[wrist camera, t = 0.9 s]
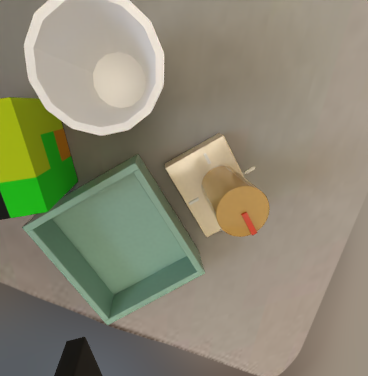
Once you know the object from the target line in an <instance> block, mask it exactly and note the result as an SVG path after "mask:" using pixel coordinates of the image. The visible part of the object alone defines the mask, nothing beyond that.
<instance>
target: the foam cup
mask: <svg viewBox="0 0 368 376" xmlns="http://www.w3.org/2000/svg"><path fill="white" fill-rule="evenodd" d="M24 52H25V59H26V67H27V74H28V80H29V82H30V83H31V85H32V87H33V89H34V90H35V92H36V94H37V95H38V97H39V99H40V100H41V102H42V104H43V105H44V107H45V109H46V110H48V111H49V112H50V113H52V114H53V115H54V116H56V117H57V118H58V119H60V120H61V121H62V122H64V123H65V124H66V125H68V126H69V127H70V128H72V129H75V130H79V131H83V132H88V133H92V134H96V135H100V136H102V135H107V134H112V133H117V132H122V131H127V130H130V129H131V128H132V127H133V126H135V125H136V124H137V123H138V122H140V121H141V120H142V119H144V118H145V117H146V116H147V115H149V114H150V113H151V112H152V110H153V107H154V105H155V103H156V101H157V99H158V97H159V95H160V93H161V90H162V88H163V86H164V52H163V49H162V47H161V44H160V42H159V40H158V37H157V35H156V32H155V30H154V27H153V25H152V23H151V21H150V20H149V19H148V18H147V17H146V16H145V15H144V14H143V13H142V12H141V11H140V10H139V9H138V8H137V7H136V6H135V5H134V4H133V3H132V2H131V1H130V0H48V1H47V2H46V3H45V4H44V5H43V6H41V7H40V8H39V9H38V10H37V11H36V12H35V13H34V15H33V18H32V21H31V24H30V27H29V30H28V33H27V36H26V39H25V42H24Z"/></svg>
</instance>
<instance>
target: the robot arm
mask: <svg viewBox="0 0 368 376" xmlns="http://www.w3.org/2000/svg"><path fill="white" fill-rule="evenodd" d="M54 376H102V374H101V372H100V369H99V367H98V365H97V362H96V360H95V358H94V356H93V354H92V351H91V349H90V347H89V345H88V342H87V340H86V338H85V337H82V338H78V339H75V340H70V341H67V342H66V345H65V348H64V351H63V353H62V356H61V359H60V361H59V364H58V367H57V370H56V373H55V375H54Z"/></svg>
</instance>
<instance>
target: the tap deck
mask: <svg viewBox="0 0 368 376" xmlns="http://www.w3.org/2000/svg"><path fill="white" fill-rule="evenodd" d="M217 166H229V167H232V168H233V169H235V170H236V171H237V172H239V173H240V174H241V175H242V176H243V174H242V172H241V170H240V168H239V166H238V164H237V161H236V159H235V157H234V155H233V153H232V151H231V149H230V147H229V145H228V143H227V141H226V139H225V137H224V135H222V134H220V133H218V134H216V135H215V136H213V137H211V138H209V139H208V140H206V141H204V142H202V143H200V144H199V145H197V146H195V147H193V148H192V149H190V150H188V151H186V152H185V153H183V154H181V155H179V156H178V157H176V158H174V159H172V160H171V161H169V162H167V163H165V169H166V171H167V172H168V174H169V176H170V177H171V179H172V181H173V182H174V184H175V186H176V187H177V189H178V191H179V192H180V194H181V196H182V197H183V199H184V201H185V202H186V204H187V206H188V208H189V209H190V211H191V213H192V214H193V216H194V218H195V219H196V221H197V223H198V224H199V226H200V228H201V229H202V231H203V233H204V234H205V236H206V238H207V237H209V236H211V235H212V234H214V233H216V232H218V231H220V230H222V229H221V227H220V226H219V224H218V222H217V220H216V219H215V217H214V215H213V213H212V211H211V209H210V207H209V205H208V203H207V201H206V200H205V198H204V196H203V194H202V189H201V185H202V180H203V178H204V176H205V175H206V173H207V172H208V171H210V170H211V169H213V168H215V167H217ZM254 169H256V168H255V166H254V167H252V168H250V169H248V170H246V171H245V174H247V173H249V172H251V171H253V170H254ZM243 177H244V176H243Z"/></svg>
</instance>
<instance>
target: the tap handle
mask: <svg viewBox="0 0 368 376" xmlns="http://www.w3.org/2000/svg"><path fill="white" fill-rule="evenodd" d="M201 189H202V194H203V196H204V198H205V200H206V201H207V203H208V205H209V207H210V209H211V211H212V213H213V215H214V217H215V219H216V220H217V222H218V224H219V226H220V227H221V229H222V230H223V231H225V232H226V233H228V234H230V235H233V236H239V237H241V236H248V235H251V234H252V235H254V234H256V233H257V231H258V230H259V229H260V228H261V227H262V226H263V225H264V224H265V222H266V220H267V218H268V215H269V202H268V199H267V197H266V196H265V194H264V193H263V192H262V191H261V190H259V189H258V188H257V187H256V186H254V185H253V184H252V183H251V182H250V181H248V180H247V179H246V178H245V177H243V176H242V175H241V174H240V173H239V172H237V171H236V170H235V169H233V168H232V167H229V166H217V167H215V168H213V169H211V170H210V171H208V172H207V173H206V175H205V176H204V178H203V180H202V185H201Z"/></svg>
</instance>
